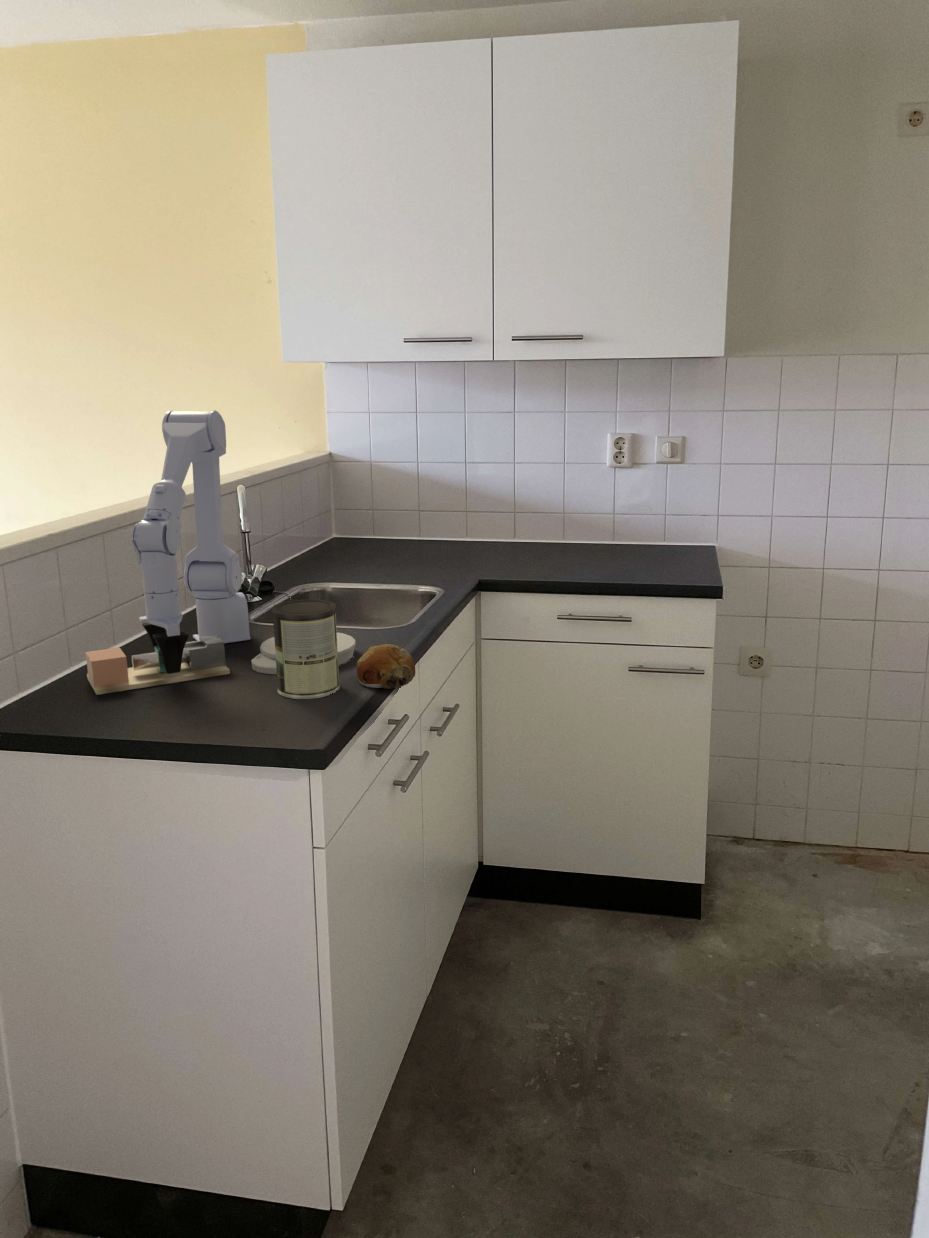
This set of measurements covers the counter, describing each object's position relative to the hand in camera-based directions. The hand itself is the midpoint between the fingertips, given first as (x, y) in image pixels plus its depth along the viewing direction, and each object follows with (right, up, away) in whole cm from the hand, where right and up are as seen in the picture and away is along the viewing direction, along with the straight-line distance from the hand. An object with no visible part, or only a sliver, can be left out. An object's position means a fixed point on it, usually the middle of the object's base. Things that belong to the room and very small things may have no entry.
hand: (168, 666), depth 171 cm
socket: (-9, -3, -4) cm, 10 cm away
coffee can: (+26, -4, -8) cm, 27 cm away
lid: (+22, +1, +9) cm, 24 cm away
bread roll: (+38, -2, -4) cm, 38 cm away
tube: (+2, 0, +1) cm, 2 cm away
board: (-2, -2, 0) cm, 2 cm away
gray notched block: (+5, -1, +3) cm, 6 cm away
